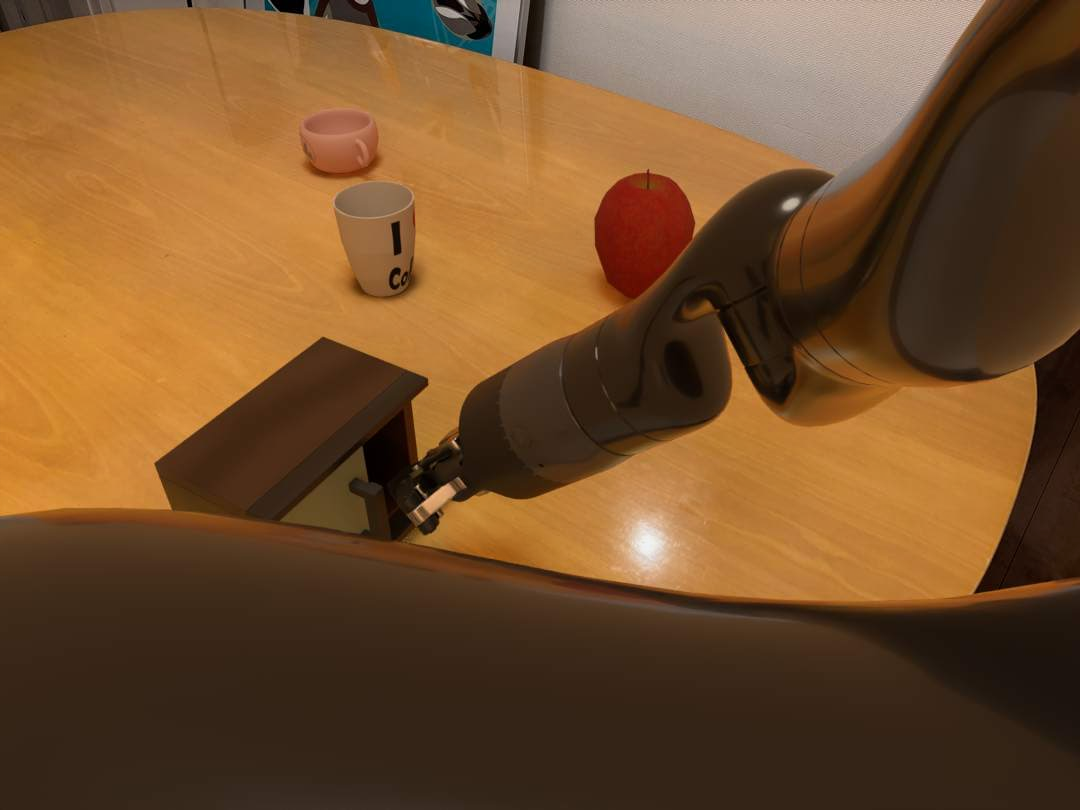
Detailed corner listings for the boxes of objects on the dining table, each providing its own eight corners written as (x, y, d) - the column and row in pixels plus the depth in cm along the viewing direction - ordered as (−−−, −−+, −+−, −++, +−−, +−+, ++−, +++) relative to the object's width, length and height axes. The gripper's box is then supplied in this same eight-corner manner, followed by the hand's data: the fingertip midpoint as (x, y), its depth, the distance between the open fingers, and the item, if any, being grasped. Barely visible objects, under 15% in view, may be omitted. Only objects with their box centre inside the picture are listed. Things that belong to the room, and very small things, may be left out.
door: (404, 558, 65) (389, 455, 58) (332, 637, 60) (306, 534, 53) (371, 541, 66) (352, 439, 59) (297, 618, 61) (268, 514, 54)
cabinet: (440, 499, 71) (428, 377, 63) (303, 646, 60) (267, 522, 52) (345, 456, 75) (322, 336, 67) (201, 587, 64) (153, 463, 56)
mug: (291, 161, 118) (283, 118, 114) (356, 142, 123) (351, 100, 119) (336, 194, 111) (329, 149, 107) (403, 172, 116) (399, 128, 112)
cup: (402, 310, 91) (392, 223, 85) (332, 296, 93) (317, 210, 87) (434, 271, 97) (427, 187, 91) (368, 258, 99) (356, 175, 93)
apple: (677, 324, 90) (693, 199, 81) (581, 308, 92) (586, 185, 83) (692, 272, 97) (708, 152, 88) (603, 258, 99) (610, 140, 90)
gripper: (538, 545, 45) (376, 595, 58) (648, 402, 54) (486, 473, 67) (446, 432, 44) (300, 509, 56) (574, 304, 53) (423, 395, 65)
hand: (401, 489), depth 62 cm, fingers closed
